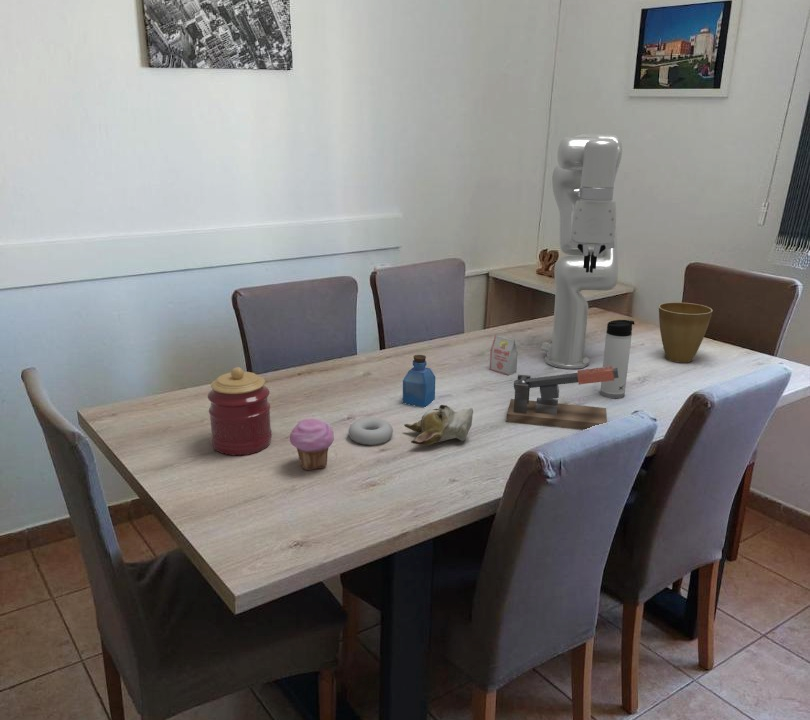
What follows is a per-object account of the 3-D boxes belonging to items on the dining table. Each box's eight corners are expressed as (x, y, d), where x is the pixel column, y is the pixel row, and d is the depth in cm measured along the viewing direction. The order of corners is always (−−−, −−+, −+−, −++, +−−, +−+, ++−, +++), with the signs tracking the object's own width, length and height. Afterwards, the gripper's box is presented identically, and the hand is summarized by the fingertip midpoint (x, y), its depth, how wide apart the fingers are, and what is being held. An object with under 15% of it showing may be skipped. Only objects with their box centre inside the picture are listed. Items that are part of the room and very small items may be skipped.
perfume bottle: (434, 399, 183) (436, 354, 179) (425, 407, 177) (426, 362, 173) (412, 395, 185) (413, 351, 181) (402, 403, 180) (403, 358, 176)
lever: (516, 403, 170) (512, 383, 169) (518, 396, 174) (514, 377, 173) (620, 391, 163) (617, 370, 162) (619, 384, 167) (616, 364, 166)
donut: (366, 452, 154) (402, 438, 160) (366, 438, 153) (402, 425, 159) (339, 437, 161) (374, 424, 167) (339, 423, 160) (374, 411, 166)
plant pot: (709, 356, 218) (716, 305, 213) (699, 370, 206) (707, 316, 201) (659, 348, 225) (665, 299, 220) (646, 361, 213) (653, 309, 208)
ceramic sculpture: (478, 410, 153) (410, 418, 151) (479, 447, 156) (412, 455, 154) (467, 393, 163) (402, 400, 161) (467, 428, 166) (404, 435, 164)
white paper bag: (497, 366, 207) (499, 333, 204) (516, 372, 203) (518, 338, 199) (489, 369, 205) (491, 336, 201) (508, 375, 200) (510, 341, 197)
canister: (242, 462, 148) (237, 382, 143) (198, 447, 155) (191, 370, 149) (284, 439, 159) (280, 364, 153) (241, 426, 165) (236, 354, 160)
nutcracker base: (506, 421, 169) (508, 386, 167) (510, 406, 179) (512, 372, 176) (606, 432, 164) (610, 395, 161) (605, 415, 173) (609, 380, 171)
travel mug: (626, 399, 184) (635, 324, 177) (600, 397, 185) (608, 323, 178) (624, 391, 189) (633, 318, 183) (599, 389, 191) (606, 316, 184)
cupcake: (297, 478, 142) (295, 432, 139) (286, 460, 149) (284, 416, 146) (340, 470, 145) (339, 425, 142) (327, 453, 153) (326, 409, 149)
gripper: (563, 195, 166) (557, 272, 172) (630, 197, 163) (621, 276, 169) (564, 192, 173) (558, 266, 179) (628, 194, 170) (620, 270, 176)
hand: (589, 271), depth 174 cm, fingers closed
